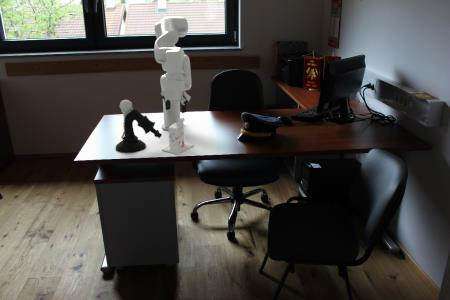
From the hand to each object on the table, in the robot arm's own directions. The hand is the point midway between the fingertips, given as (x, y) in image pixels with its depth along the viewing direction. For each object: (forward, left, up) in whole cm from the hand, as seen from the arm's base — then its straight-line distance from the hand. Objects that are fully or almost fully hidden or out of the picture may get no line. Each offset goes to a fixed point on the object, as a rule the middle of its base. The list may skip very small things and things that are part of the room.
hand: (176, 110), depth 205 cm
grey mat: (0, 0, -20) cm, 20 cm away
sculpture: (+9, -18, -20) cm, 28 cm away
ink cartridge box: (0, 0, -19) cm, 19 cm away
